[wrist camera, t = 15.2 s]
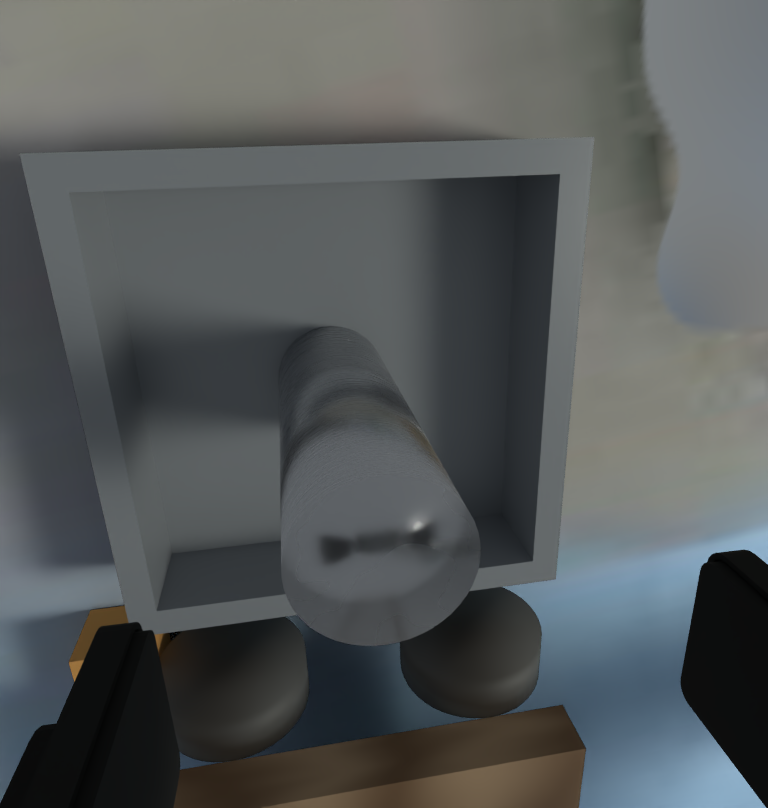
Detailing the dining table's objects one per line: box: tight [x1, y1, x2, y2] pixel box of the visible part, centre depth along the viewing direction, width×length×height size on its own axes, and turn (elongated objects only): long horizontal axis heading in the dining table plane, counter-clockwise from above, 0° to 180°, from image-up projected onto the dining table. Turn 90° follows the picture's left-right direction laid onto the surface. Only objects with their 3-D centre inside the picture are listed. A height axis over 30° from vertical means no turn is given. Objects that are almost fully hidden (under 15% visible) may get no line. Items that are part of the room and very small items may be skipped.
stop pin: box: [279, 326, 481, 646], centre depth 18 cm, size 4×4×12 cm
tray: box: [19, 137, 594, 635], centre depth 22 cm, size 16×16×4 cm
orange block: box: [69, 606, 171, 682], centre depth 26 cm, size 3×4×3 cm
